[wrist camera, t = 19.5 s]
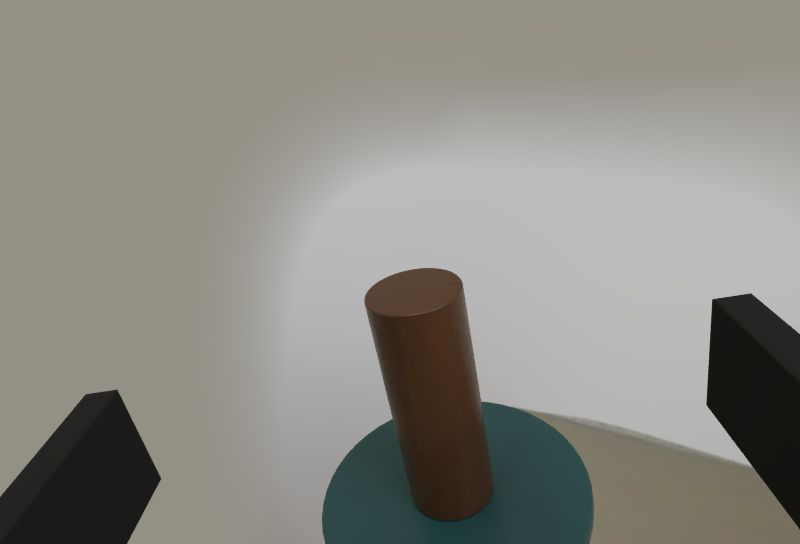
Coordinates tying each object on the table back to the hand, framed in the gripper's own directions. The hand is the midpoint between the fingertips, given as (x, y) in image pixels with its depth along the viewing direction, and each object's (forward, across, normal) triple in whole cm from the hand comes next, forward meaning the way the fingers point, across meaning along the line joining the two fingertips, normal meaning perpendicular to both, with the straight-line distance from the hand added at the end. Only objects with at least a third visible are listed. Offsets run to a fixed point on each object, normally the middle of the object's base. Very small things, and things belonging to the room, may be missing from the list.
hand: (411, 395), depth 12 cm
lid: (+4, 0, -8) cm, 8 cm away
